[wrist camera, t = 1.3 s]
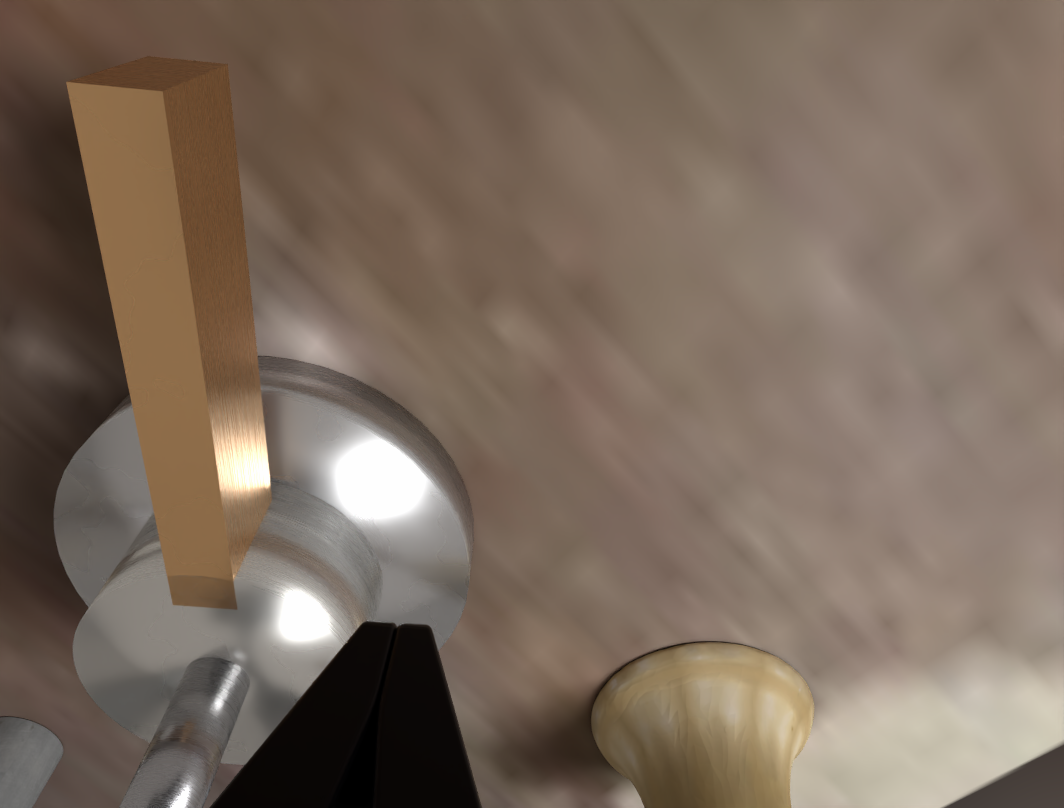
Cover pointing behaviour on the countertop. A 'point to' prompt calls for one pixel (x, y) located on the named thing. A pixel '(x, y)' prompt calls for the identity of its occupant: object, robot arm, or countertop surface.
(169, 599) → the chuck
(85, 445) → the base
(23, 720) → the hip flask
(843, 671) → the countertop surface
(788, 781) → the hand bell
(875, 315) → the countertop surface
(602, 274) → the countertop surface
